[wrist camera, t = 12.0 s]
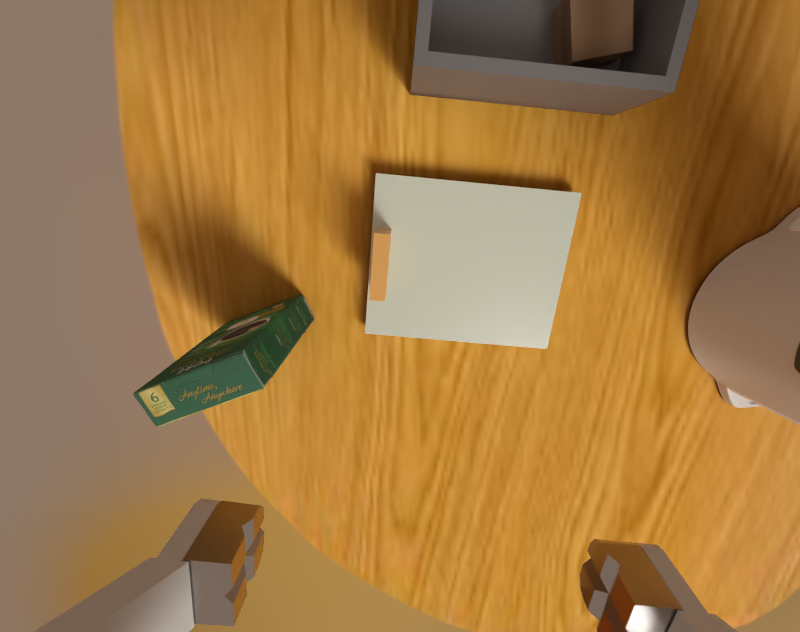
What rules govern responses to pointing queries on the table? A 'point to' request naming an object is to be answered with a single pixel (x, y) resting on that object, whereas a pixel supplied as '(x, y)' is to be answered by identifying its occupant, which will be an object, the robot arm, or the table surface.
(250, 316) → the coffee box
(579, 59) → the walnut block
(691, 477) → the table surface
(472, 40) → the tub
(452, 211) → the lid
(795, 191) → the table surface
